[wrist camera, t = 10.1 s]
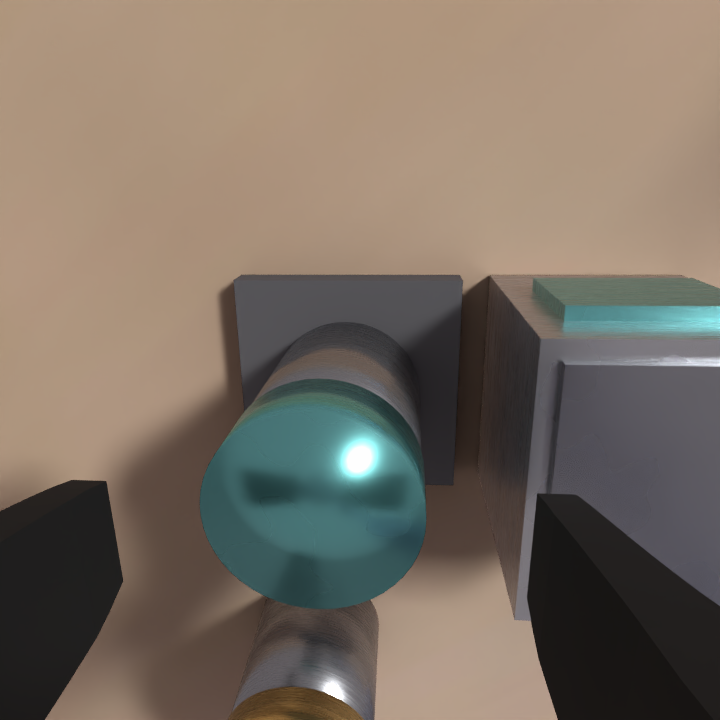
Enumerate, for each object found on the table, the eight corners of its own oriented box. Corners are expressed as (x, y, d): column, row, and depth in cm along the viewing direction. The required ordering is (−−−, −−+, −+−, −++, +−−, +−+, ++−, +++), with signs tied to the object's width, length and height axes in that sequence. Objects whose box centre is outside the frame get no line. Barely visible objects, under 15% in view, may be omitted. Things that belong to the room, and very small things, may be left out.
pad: (451, 471, 18) (453, 485, 17) (256, 466, 18) (249, 480, 17) (459, 274, 16) (462, 280, 15) (241, 274, 16) (233, 280, 15)
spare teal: (430, 449, 16) (440, 600, 11) (290, 464, 17) (229, 616, 11) (409, 310, 15) (408, 398, 9) (259, 331, 16) (173, 427, 10)
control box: (647, 476, 17) (776, 638, 11) (477, 471, 17) (516, 627, 12) (683, 264, 15) (863, 326, 9) (490, 263, 15) (545, 324, 10)
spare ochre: (380, 671, 20) (372, 868, 15) (265, 666, 21) (213, 857, 15) (380, 575, 19) (371, 750, 13) (257, 571, 19) (197, 741, 14)
